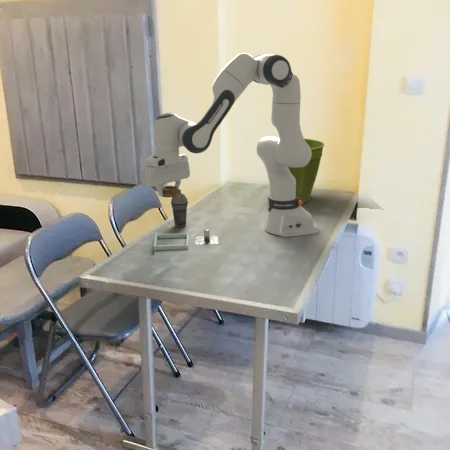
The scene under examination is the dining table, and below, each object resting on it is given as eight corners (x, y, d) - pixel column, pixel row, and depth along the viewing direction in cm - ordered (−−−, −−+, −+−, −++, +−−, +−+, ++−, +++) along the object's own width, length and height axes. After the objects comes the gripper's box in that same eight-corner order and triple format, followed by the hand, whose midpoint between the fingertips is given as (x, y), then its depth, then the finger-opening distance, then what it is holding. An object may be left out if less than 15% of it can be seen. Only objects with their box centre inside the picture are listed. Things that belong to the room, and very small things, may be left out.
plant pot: (253, 205, 256) (254, 146, 247) (272, 189, 282) (273, 136, 273) (313, 211, 246) (316, 150, 236) (327, 194, 272) (330, 139, 262)
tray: (188, 238, 214) (188, 233, 213) (188, 251, 202) (188, 245, 201) (156, 239, 213) (155, 234, 212) (153, 252, 201) (153, 246, 200)
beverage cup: (186, 231, 222) (184, 185, 216) (169, 230, 224) (167, 185, 217) (190, 225, 229) (189, 181, 222) (174, 224, 230) (172, 180, 224)
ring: (157, 195, 200) (157, 187, 199) (169, 192, 204) (169, 184, 203) (173, 199, 195) (173, 191, 194) (185, 196, 199) (184, 188, 198)
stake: (217, 237, 214) (217, 226, 213) (218, 246, 206) (218, 233, 204) (195, 238, 214) (195, 226, 212) (195, 246, 206) (195, 234, 204)
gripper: (181, 152, 205) (182, 186, 210) (141, 160, 191) (143, 197, 195) (193, 154, 201) (193, 189, 206) (152, 163, 187) (154, 200, 191)
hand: (168, 193), depth 200 cm, fingers closed on ring, 6 cm apart
